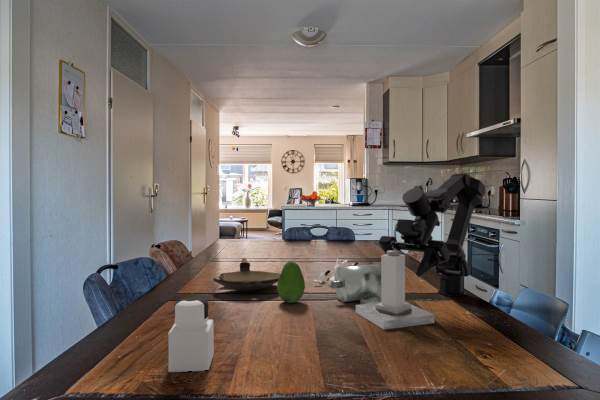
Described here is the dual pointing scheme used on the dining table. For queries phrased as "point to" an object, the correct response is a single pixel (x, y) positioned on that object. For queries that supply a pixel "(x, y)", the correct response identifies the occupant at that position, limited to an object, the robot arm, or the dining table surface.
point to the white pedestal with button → (393, 283)
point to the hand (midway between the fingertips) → (400, 273)
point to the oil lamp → (247, 278)
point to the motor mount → (373, 297)
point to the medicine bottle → (191, 336)
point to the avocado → (291, 283)
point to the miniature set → (331, 272)
